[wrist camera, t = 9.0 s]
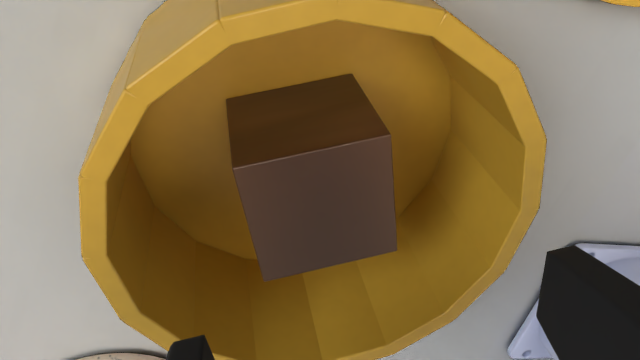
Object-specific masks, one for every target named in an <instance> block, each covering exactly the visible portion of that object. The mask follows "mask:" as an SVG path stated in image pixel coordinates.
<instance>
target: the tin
mask: <svg viewBox="0 0 640 360" xmlns="http://www.w3.org/2000/svg"><path fill="white" fill-rule="evenodd" d="M347 74H353V75H354V77H355V79H356V80H357V82H358V83H359V85H360V86H361V88H362V90H363V91H364V93H365V94H366V96H367V97H368V99H369V101H370V102H371V104H372V105H373V107H374V108H375V110H376V112H377V113H378V115H379V116H380V118H381V119H382V121H383V123H384V124H385V126H386V127H387V129H388V130H389V132H390V134H391V140H392V158H393V177H394V196H395V214H396V233H397V251H395V252H390V253H386V254H382V255H377V256H373V257H369V258H365V259H360V260H356V261H352V262H348V263H343V264H339V265H335V266H331V267H326V268H322V269H318V270H313V271H309V272H305V273H301V274H296V275H292V276H288V277H284V278H279V279H275V280H271V281H266V282H264V281H263V278H262V275H261V271H260V267H259V264H258V260H257V257H256V253H255V249H254V246H253V242H252V239H251V235H250V231H249V228H248V224H247V221H246V217H245V214H244V210H243V206H242V203H241V199H240V196H239V192H238V188H237V185H236V181H235V178H234V174H233V171H232V163H231V152H230V141H229V130H228V119H227V108H226V99H228V98H233V97H238V96H243V95H248V94H253V93H258V92H263V91H268V90H273V89H278V88H283V87H288V86H292V85H297V84H302V83H307V82H312V81H317V80H322V79H327V78H332V77H337V76H342V75H347ZM546 143H547V139H546V135H545V132H544V130H543V127H542V125H541V122H540V120H539V117H538V115H537V112H536V110H535V107H534V105H533V102H532V100H531V97H530V95H529V92H528V90H527V87H526V85H525V82H524V80H523V77H522V75H521V72H520V70H519V68H518V67H517V66H516V64H515V63H513V62H512V61H511V60H510V59H508V58H507V57H506V56H504V55H503V54H502V53H501V52H499V51H498V50H497V49H495V48H494V47H493V46H492V45H490V44H489V43H488V42H487V41H485V40H484V39H483V38H481V37H480V36H479V35H478V34H476V33H475V32H474V31H472V30H471V29H470V28H469V27H467V26H466V25H465V24H463V23H462V22H461V21H460V20H458V19H457V18H456V17H454V16H453V15H452V14H451V13H449V12H448V11H447V10H445V9H444V8H442V7H441V6H440V5H438V4H437V3H435V2H434V1H433V0H167V1H165V2H164V3H163V4H162V5H161V6H160V7H159V8H158V9H157V10H156V11H154V12H153V13H152V14H150V15H149V16H148V17H147V19H146V20H144V22H143V24H142V26H141V28H140V30H139V32H138V34H137V36H136V38H135V40H134V42H133V44H132V45H131V47H130V49H129V51H128V53H127V56H126V58H125V60H124V62H123V64H122V66H121V68H120V70H119V72H118V74H117V76H116V78H115V80H114V81H113V83H112V85H111V88H110V91H109V94H108V96H107V99H106V102H105V105H104V107H103V110H102V113H101V116H100V118H99V121H98V124H97V127H96V129H95V132H94V135H93V138H92V140H91V143H90V146H89V149H88V151H87V154H86V157H85V159H84V162H83V165H82V168H81V170H80V175H79V177H78V181H79V206H80V230H81V255H82V258H83V261H84V263H85V264H86V266H87V267H88V269H89V271H90V272H91V274H92V275H93V277H94V278H95V280H96V282H97V283H98V285H99V286H100V288H101V290H102V291H103V293H104V294H105V296H106V298H107V299H108V301H109V302H110V304H111V305H112V307H113V309H114V310H115V312H116V313H117V315H118V317H119V318H120V320H122V321H123V322H124V323H126V324H127V325H129V326H130V327H132V328H133V329H135V330H136V331H138V332H139V333H141V334H143V335H144V336H146V337H147V338H149V339H150V340H152V341H153V342H155V343H156V344H158V345H160V346H161V347H163V348H164V349H166V350H167V351H169V348H170V346H171V345H172V343H173V342H175V341H179V340H184V339H188V338H192V337H196V336H200V335H205V337H206V340H207V342H208V344H209V347H210V349H211V352H212V354H213V356H214V359H215V360H375V359H379V358H383V357H386V356H390V355H391V354H392V355H393V354H395V353H397V352H398V351H400V350H402V349H404V348H405V347H407V346H409V345H411V344H413V343H414V342H416V341H418V340H420V339H422V338H423V337H425V336H427V335H429V334H431V333H432V332H434V331H436V330H438V329H440V328H441V327H443V326H445V325H447V324H449V323H450V322H452V321H453V320H455V319H456V318H457V317H458V316H459V315H460V314H461V313H462V312H463V311H464V310H465V309H466V308H467V307H468V306H470V305H471V304H472V303H473V302H474V301H475V300H476V299H477V298H478V297H479V296H480V295H481V294H482V293H483V292H484V291H485V290H486V289H487V288H488V287H489V286H490V285H491V284H492V283H494V282H495V281H496V280H497V279H498V278H499V277H500V276H501V275H502V274H503V273H504V271H505V270H506V269H507V267H508V265H509V263H510V262H511V260H512V258H513V256H514V254H515V252H516V251H517V249H518V247H519V245H520V243H521V241H522V240H523V238H524V236H525V234H526V232H527V230H528V229H529V227H530V225H531V223H532V221H533V219H534V218H535V216H536V214H537V212H538V209H539V207H540V198H541V189H542V180H543V171H544V161H545V152H546Z"/></svg>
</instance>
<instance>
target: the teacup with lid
mask: <svg viewBox="0 0 640 360" xmlns="http://www.w3.org/2000/svg"><path fill="white" fill-rule="evenodd" d="M77 360H166V359H163V358H159V357H155V356H150V355H144V354H135V353H111V354H101V355H94V356H89V357H84V358H81V359H77Z"/></svg>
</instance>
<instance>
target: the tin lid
mask: <svg viewBox="0 0 640 360" xmlns="http://www.w3.org/2000/svg"><path fill="white" fill-rule="evenodd" d="M601 1H604V2H607V3H611V4H616V5H624V6H631V7H640V0H601Z"/></svg>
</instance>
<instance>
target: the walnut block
mask: <svg viewBox="0 0 640 360" xmlns="http://www.w3.org/2000/svg"><path fill="white" fill-rule="evenodd" d="M226 108H227V119H228V130H229V141H230V152H231V163H232V171H233V174H234V178H235V181H236V185H237V188H238V192H239V196H240V199H241V203H242V206H243V210H244V214H245V217H246V221H247V224H248V228H249V231H250V235H251V239H252V242H253V246H254V249H255V253H256V257H257V260H258V264H259V267H260V271H261V275H262V278H263V281H264V282H266V281H271V280H275V279H279V278H284V277H288V276H292V275H296V274H301V273H305V272H309V271H313V270H318V269H322V268H326V267H331V266H335V265H339V264H343V263H348V262H352V261H356V260H360V259H365V258H369V257H373V256H377V255H382V254H386V253H390V252H395V251H397V233H396V214H395V196H394V177H393V158H392V140H391V134H390V132H389V130H388V129H387V127H386V126H385V124H384V123H383V121H382V119H381V118H380V116H379V115H378V113H377V112H376V110H375V108H374V107H373V105H372V104H371V102H370V101H369V99H368V97H367V96H366V94H365V93H364V91H363V90H362V88H361V86H360V85H359V83H358V82H357V80H356V79H355V77H354V75H353V74H347V75H342V76H337V77H332V78H327V79H322V80H317V81H312V82H307V83H302V84H297V85H292V86H288V87H283V88H278V89H273V90H268V91H263V92H258V93H253V94H248V95H243V96H238V97H233V98H228V99H226Z"/></svg>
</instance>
